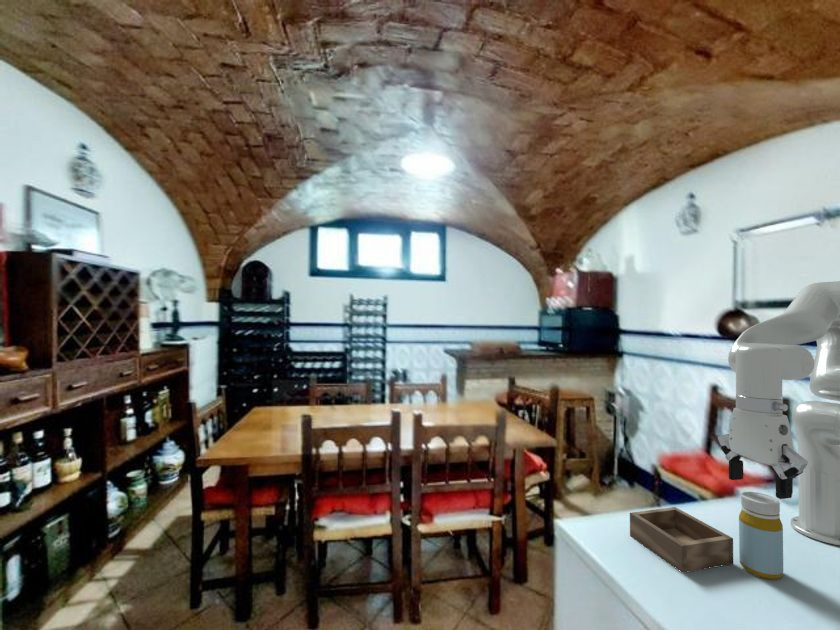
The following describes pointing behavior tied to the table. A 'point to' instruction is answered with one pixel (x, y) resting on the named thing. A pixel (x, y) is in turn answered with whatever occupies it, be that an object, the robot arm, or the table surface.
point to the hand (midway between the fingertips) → (758, 488)
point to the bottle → (761, 535)
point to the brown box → (681, 539)
